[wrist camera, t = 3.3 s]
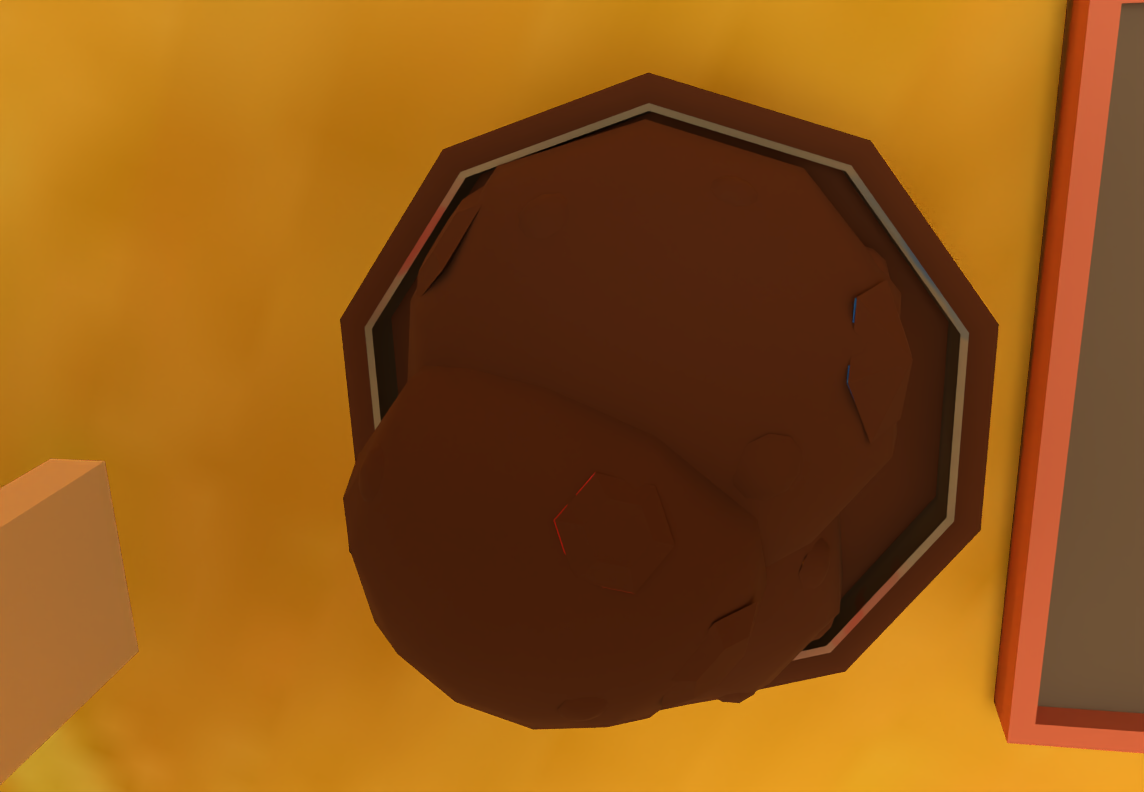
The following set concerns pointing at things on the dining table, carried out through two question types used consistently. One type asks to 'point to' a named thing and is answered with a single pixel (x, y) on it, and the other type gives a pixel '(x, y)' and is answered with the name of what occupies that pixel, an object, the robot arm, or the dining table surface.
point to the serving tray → (1084, 414)
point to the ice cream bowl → (658, 408)
